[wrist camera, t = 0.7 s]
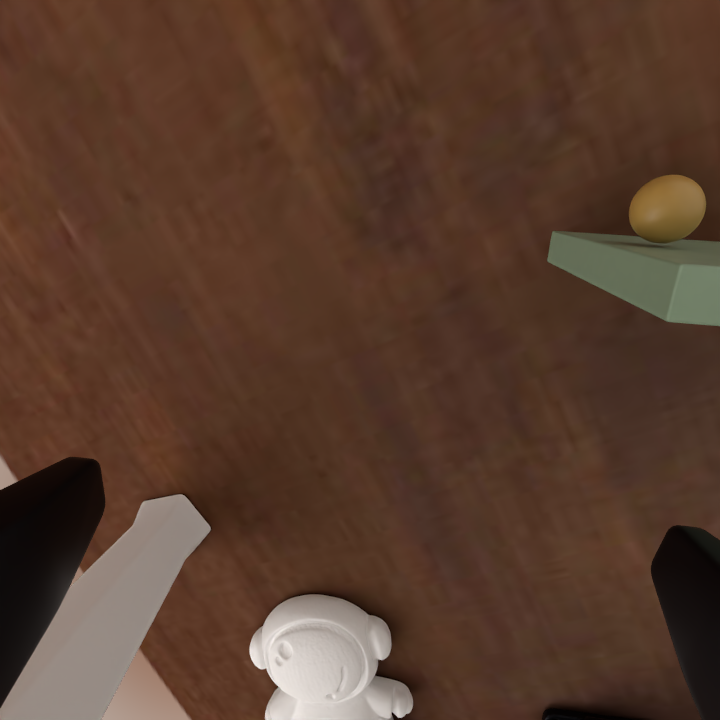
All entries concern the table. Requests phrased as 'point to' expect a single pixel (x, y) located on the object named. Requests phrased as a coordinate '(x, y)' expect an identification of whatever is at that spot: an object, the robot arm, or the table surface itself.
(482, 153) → the table surface
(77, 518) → the robot arm
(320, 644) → the astronaut figurine
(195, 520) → the perfume bottle
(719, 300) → the green flat slab
